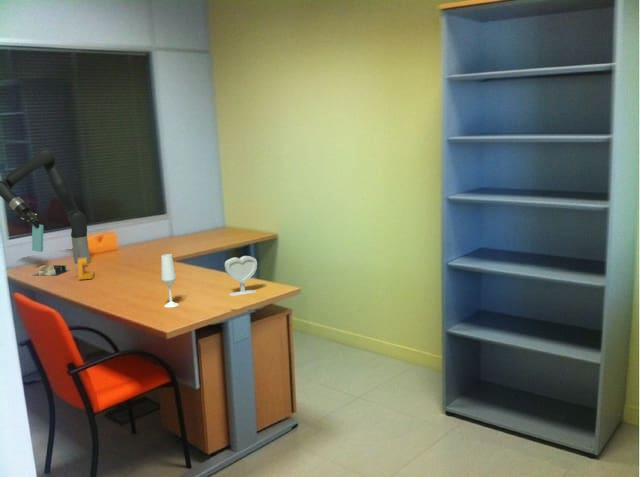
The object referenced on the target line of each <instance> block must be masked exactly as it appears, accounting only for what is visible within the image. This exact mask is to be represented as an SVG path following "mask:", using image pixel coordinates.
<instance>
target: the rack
mask: <svg viewBox="0 0 640 477" xmlns="http://www.w3.org/2000/svg"><path fill="white" fill-rule="evenodd" d="M53 265H54V270H55V272H56V274H54V275H39V272H38V273H35V274H33V275H31V276H33V277H34V276H35V277H58V276H60V275H62V274H65V273H68V272H70V271H71V270H70V269H69V270H67V265H63V264H62V265H61V264H58V265H57V264H53Z"/></svg>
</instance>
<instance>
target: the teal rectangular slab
mask: <svg viewBox="0 0 640 477" xmlns="http://www.w3.org/2000/svg"><path fill="white" fill-rule="evenodd" d="M31 226H32V227H31V228H32V230H31V250H32V251H34V252H39V253H42V252H44V224H42V225H39V228H36V227H35V226H34V225H33V224H31Z"/></svg>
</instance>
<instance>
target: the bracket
mask: <svg viewBox="0 0 640 477" xmlns="http://www.w3.org/2000/svg"><path fill="white" fill-rule="evenodd" d="M88 267H89V263H88V258H87V257H85V258H78V263H77V269H78V271H77V272H78V280H79V281H83V280H84V281H85V280H93V279H95V276H96V272H95V270H89V271H86V268H88Z"/></svg>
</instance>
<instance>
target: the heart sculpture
mask: <svg viewBox="0 0 640 477" xmlns="http://www.w3.org/2000/svg"><path fill="white" fill-rule="evenodd" d="M257 266H258V261H257V259H256V258H255V257H253V256H250V255H243V256H241V257H237V256H236V257H231V258H229V259H227V260H226V261H225V262H224V269H225V273H226V274H227V275H228V276H229V277H230V278H231V279H233V280H235V281H238V282H239V286H240V287H239V288H240V290H239V291H236V292H232V293H229V296H230V297H231V296H232V297H235V296H237V297H238V296H242V295H247V294H248V295H249V294H253V293H257V291H256V290H255V289H247V290H246V288H245V285H246V282H247V281H248V280H249V279H251V278H252V277H253V276H254V274H255V273H256V271H257V269H258V268H257Z"/></svg>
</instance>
